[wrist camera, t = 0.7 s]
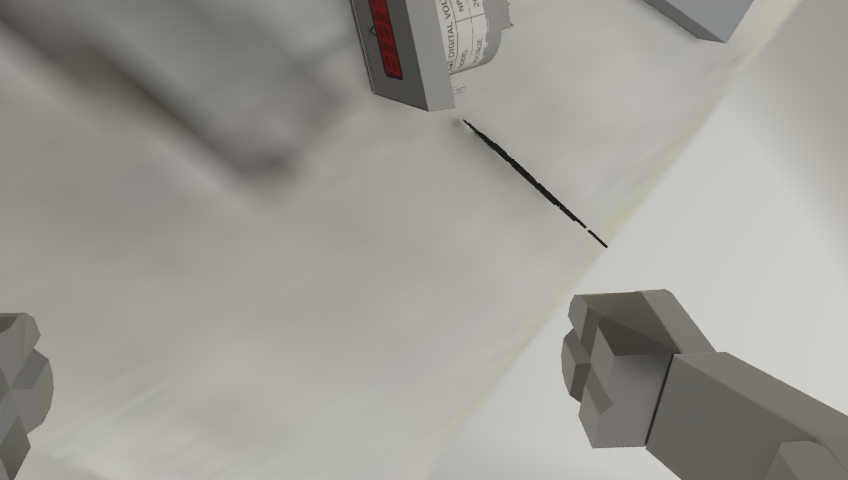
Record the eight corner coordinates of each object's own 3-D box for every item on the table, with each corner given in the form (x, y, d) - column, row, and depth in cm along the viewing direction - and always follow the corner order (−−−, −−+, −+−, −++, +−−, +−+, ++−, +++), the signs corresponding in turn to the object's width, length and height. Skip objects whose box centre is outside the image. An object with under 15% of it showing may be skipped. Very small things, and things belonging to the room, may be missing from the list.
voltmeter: (292, 22, 48) (301, 36, 39) (396, -108, 46) (430, -124, 37) (532, 231, 59) (582, 279, 50) (623, 132, 57) (691, 164, 48)
